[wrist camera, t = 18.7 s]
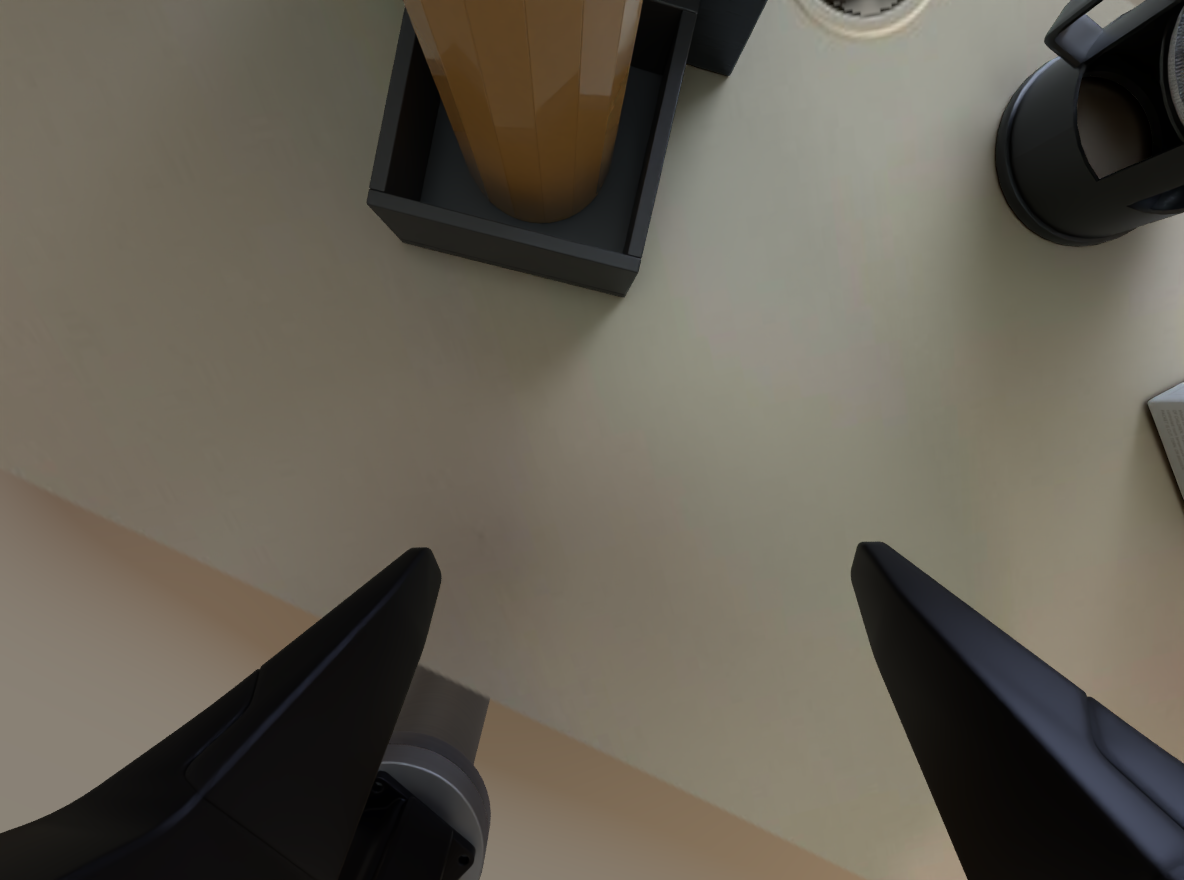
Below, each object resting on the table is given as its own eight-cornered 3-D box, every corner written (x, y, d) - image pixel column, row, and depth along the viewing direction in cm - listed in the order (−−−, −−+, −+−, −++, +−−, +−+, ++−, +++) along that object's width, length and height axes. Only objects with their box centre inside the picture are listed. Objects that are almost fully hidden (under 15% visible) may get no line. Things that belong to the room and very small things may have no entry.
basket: (624, 298, 22) (638, 273, 18) (402, 242, 21) (365, 203, 17) (675, 74, 22) (701, -3, 18) (449, 8, 21) (423, -88, 17)
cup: (626, 204, 21) (727, -117, 8) (489, 239, 21) (371, -39, 8) (589, 59, 21) (634, -524, 8) (448, 92, 20) (251, -455, 8)
